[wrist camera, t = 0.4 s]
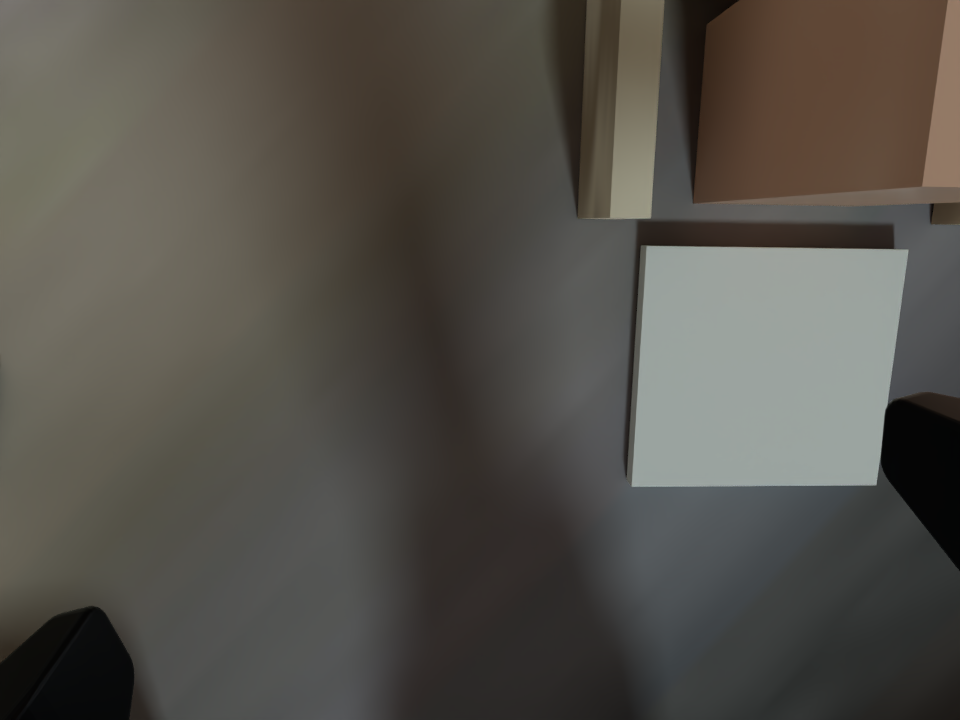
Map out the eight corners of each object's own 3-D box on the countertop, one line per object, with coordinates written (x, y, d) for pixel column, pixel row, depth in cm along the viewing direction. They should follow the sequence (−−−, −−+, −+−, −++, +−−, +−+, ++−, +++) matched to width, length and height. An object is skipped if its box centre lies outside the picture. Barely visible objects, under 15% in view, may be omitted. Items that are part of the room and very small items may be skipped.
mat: (864, 478, 23) (876, 485, 22) (626, 479, 22) (631, 486, 22) (895, 248, 21) (908, 249, 21) (640, 245, 21) (647, 246, 20)
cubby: (962, 225, 21) (1163, 225, 15) (577, 218, 20) (632, 217, 15) (1005, -57, 20) (1246, -177, 14) (589, -74, 19) (657, -208, 13)
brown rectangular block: (853, 206, 21) (1219, 192, 11) (693, 203, 21) (921, 186, 11) (874, 30, 20) (1296, -157, 10) (706, 24, 20) (971, -173, 10)
